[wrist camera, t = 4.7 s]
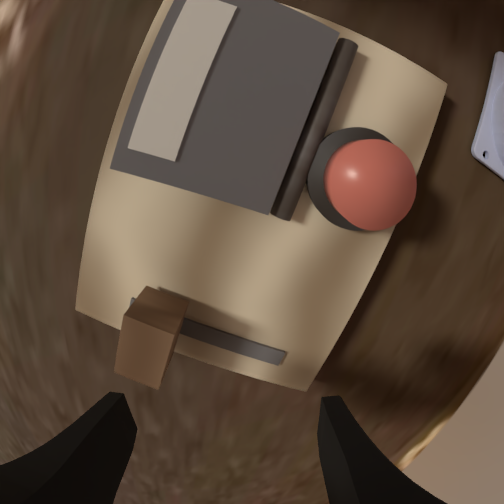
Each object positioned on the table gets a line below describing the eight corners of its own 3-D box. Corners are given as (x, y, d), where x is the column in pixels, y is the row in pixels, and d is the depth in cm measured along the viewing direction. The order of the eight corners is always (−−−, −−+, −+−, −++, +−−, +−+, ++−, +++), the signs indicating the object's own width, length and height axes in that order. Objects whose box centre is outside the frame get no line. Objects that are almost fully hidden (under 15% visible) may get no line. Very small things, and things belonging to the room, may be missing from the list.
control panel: (434, 87, 14) (457, 81, 12) (303, 376, 20) (307, 402, 18) (181, -9, 13) (169, -29, 11) (86, 299, 19) (67, 317, 16)
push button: (410, 161, 13) (428, 163, 11) (380, 232, 14) (395, 243, 12) (341, 126, 13) (352, 123, 11) (310, 202, 14) (317, 210, 12)
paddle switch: (332, 36, 12) (341, 32, 11) (263, 210, 15) (269, 216, 14) (188, -21, 10) (189, -29, 9) (113, 165, 13) (109, 168, 12)
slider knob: (189, 301, 16) (174, 334, 13) (173, 353, 17) (158, 390, 14) (146, 285, 16) (123, 314, 13) (134, 338, 17) (113, 371, 14)
